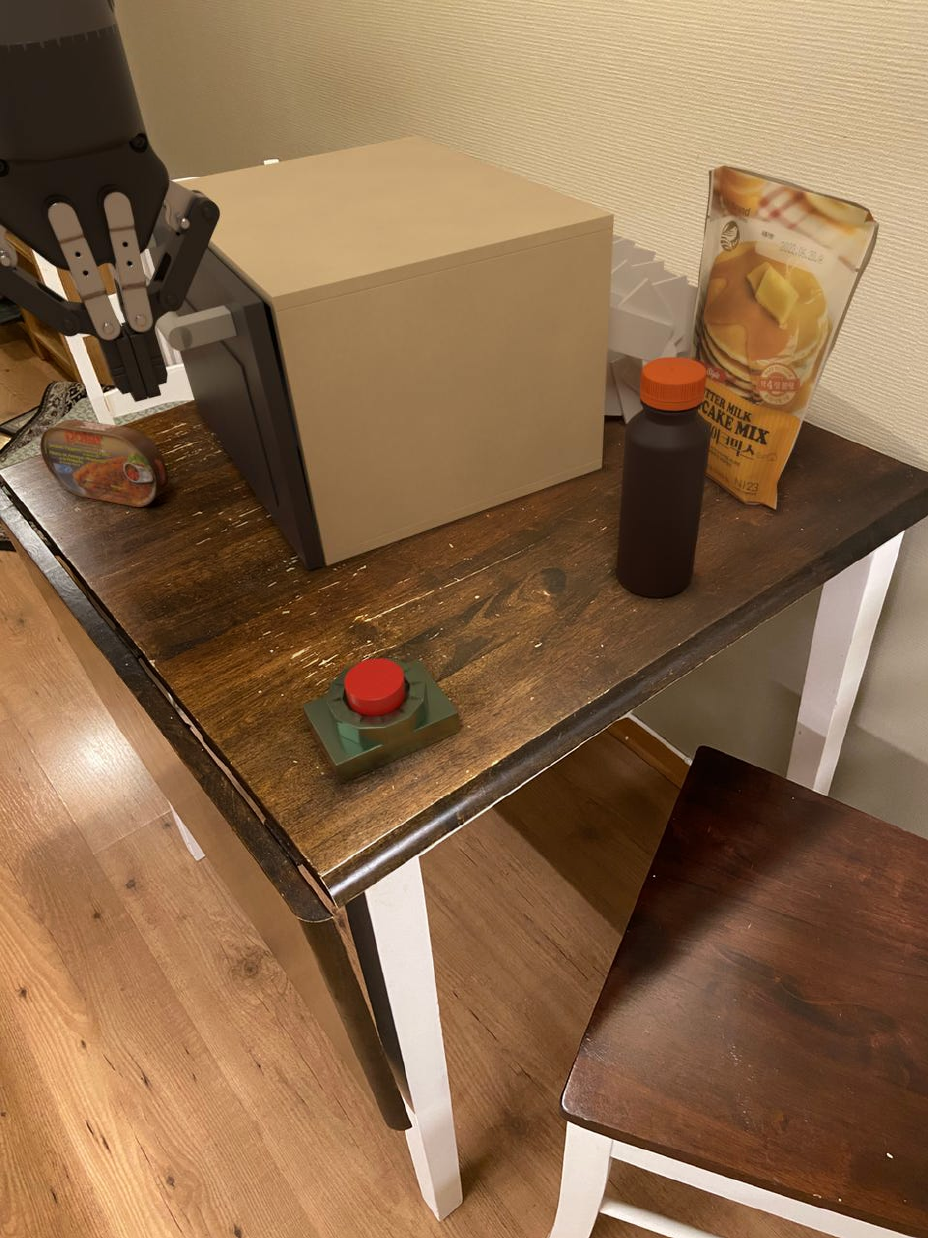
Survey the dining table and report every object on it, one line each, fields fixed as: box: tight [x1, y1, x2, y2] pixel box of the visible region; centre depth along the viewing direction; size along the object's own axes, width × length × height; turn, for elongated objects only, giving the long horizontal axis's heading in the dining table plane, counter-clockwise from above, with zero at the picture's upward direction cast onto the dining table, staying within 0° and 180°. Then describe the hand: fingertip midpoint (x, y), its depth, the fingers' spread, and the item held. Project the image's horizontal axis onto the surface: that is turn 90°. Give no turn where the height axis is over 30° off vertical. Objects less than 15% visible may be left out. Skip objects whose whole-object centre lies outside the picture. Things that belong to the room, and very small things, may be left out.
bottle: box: [615, 357, 711, 598], centre depth 74 cm, size 7×7×20 cm
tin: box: [39, 419, 169, 508], centre depth 94 cm, size 15×3×8 cm, turn 68°
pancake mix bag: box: [691, 165, 880, 510], centre depth 84 cm, size 7×19×28 cm, turn 24°
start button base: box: [301, 657, 461, 785], centre depth 67 cm, size 10×7×4 cm
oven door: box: [144, 206, 324, 571], centre depth 89 cm, size 7×40×26 cm, turn 28°
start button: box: [344, 658, 406, 716], centre depth 65 cm, size 4×4×2 cm
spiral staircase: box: [604, 233, 698, 425], centre depth 103 cm, size 18×18×25 cm
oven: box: [162, 135, 615, 567], centre depth 95 cm, size 32×40×26 cm
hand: (144, 393), depth 49 cm, fingers closed
